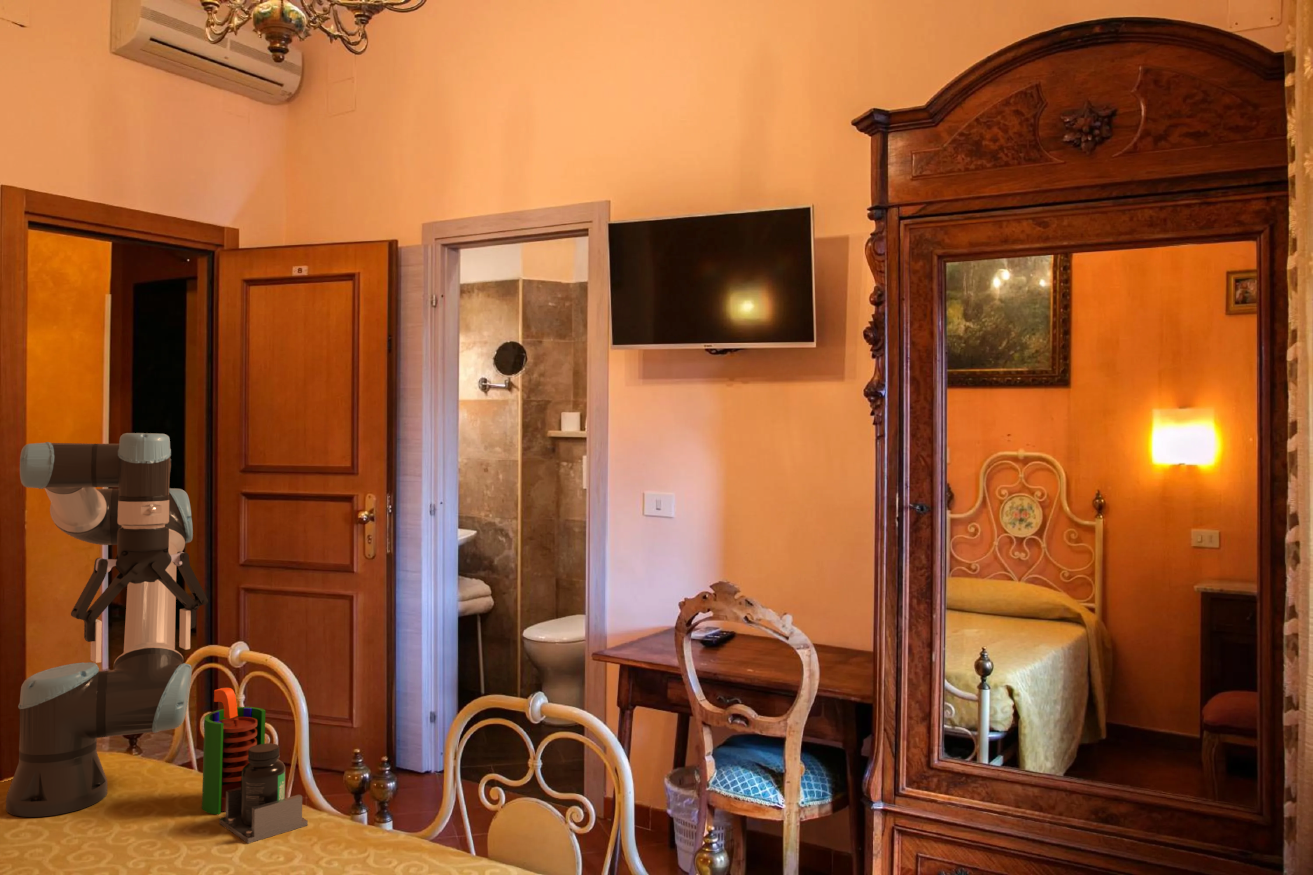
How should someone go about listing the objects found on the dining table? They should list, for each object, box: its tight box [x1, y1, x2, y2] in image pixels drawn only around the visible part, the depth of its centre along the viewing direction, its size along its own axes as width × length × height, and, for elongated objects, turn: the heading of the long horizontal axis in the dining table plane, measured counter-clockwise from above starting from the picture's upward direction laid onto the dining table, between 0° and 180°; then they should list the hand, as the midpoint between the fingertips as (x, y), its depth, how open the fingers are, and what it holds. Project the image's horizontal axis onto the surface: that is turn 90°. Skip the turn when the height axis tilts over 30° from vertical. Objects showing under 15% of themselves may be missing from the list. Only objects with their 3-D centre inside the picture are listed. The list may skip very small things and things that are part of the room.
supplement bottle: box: [241, 742, 286, 826], centre depth 159 cm, size 7×7×12 cm
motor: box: [201, 687, 266, 815], centre depth 167 cm, size 10×9×20 cm
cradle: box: [219, 787, 308, 844], centre depth 159 cm, size 11×10×5 cm
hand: (141, 654), depth 156 cm, fingers open, 13 cm apart
